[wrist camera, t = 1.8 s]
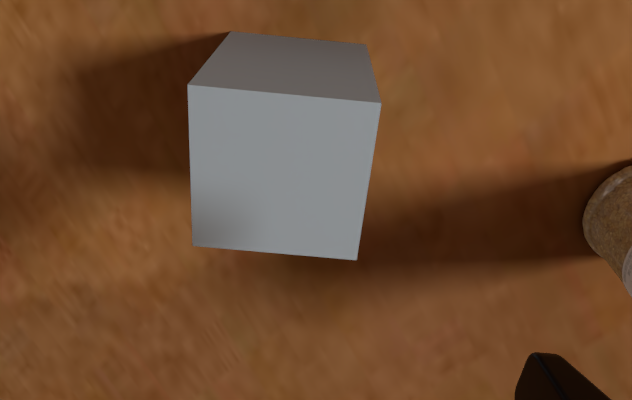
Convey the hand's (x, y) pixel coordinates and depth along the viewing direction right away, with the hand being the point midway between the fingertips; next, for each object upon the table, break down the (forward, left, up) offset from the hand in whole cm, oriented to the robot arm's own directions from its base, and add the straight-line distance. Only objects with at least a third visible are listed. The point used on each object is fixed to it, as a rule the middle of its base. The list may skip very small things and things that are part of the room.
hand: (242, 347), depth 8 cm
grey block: (0, 0, -12) cm, 12 cm away
